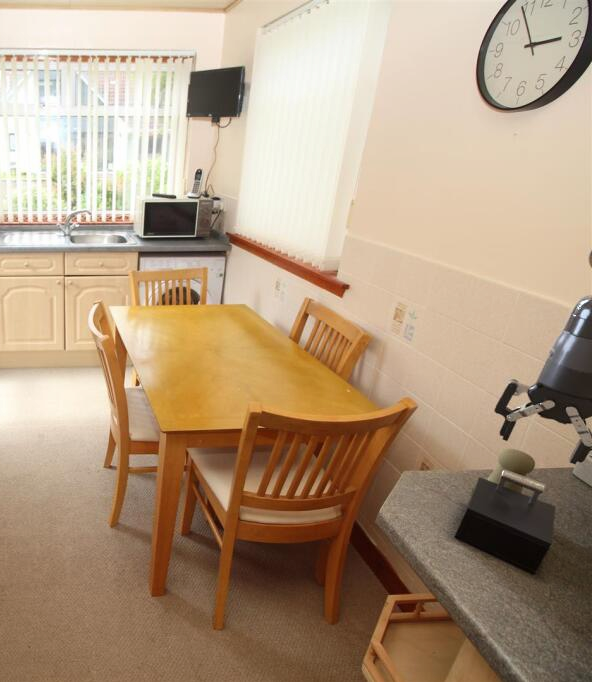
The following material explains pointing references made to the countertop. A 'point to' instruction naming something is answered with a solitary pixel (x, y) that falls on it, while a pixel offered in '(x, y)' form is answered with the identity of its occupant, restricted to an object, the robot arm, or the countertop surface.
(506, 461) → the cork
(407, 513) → the countertop surface
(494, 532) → the box
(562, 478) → the countertop surface
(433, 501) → the countertop surface
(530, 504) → the warmer lid
